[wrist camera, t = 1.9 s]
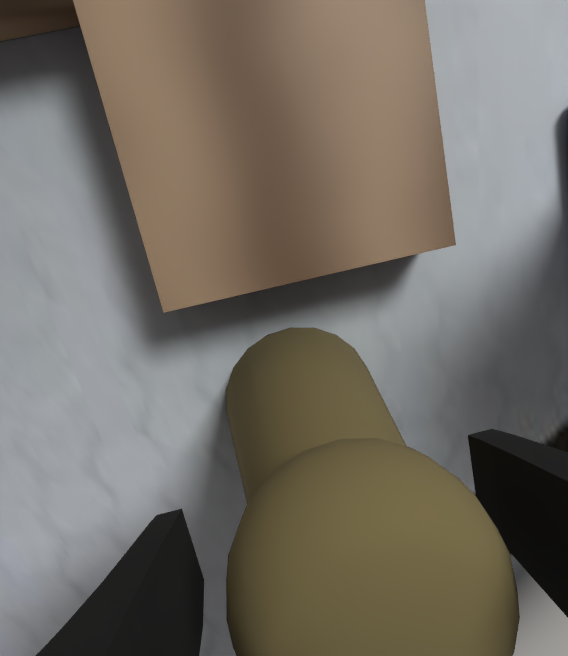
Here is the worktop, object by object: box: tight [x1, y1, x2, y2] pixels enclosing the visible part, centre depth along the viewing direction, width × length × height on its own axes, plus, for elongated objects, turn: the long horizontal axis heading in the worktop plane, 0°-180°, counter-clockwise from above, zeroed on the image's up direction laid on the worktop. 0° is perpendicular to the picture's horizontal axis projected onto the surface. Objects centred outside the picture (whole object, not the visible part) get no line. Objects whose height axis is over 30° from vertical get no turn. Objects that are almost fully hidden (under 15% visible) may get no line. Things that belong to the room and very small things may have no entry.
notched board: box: [0, 0, 456, 313], centre depth 13 cm, size 22×12×2 cm, turn 102°
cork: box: [226, 328, 520, 656], centre depth 11 cm, size 6×6×11 cm
